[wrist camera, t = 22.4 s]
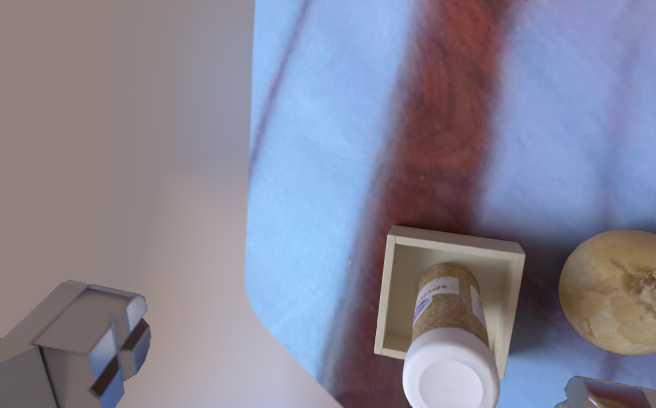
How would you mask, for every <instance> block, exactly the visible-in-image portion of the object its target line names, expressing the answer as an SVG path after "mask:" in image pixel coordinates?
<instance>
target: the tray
mask: <svg viewBox="0 0 656 408" xmlns="http://www.w3.org/2000/svg"><path fill="white" fill-rule="evenodd" d="M525 257H526V254H525V253H524V251H523V249H522V248H521V246H520V245H519V243H518V242H512V241H504V240H497V239H490V238H483V237H476V236H469V235H462V234H454V233H447V232H440V231H433V230H426V229H419V228H412V227H404V226H397V225H393V226H392V228H391V230H390V232H389V233H388V236H387V245H386V254H385V262H384V271H383V280H382V288H381V297H380V306H379V315H378V323H377V332H376V341H375V349H374V353H375V354H380V355H385V356H390V357H395V358H399V359H404V360H405V359H406V355H407V352H408V350H409V348H410V346H411V342H412V335H413V321H414V315H415V308H416V302H417V298H418V284H419V281H420V278H421V277H422V275H423V273H424V272H426V271H427V270H428V269H429V268H430V267H432V266H434V265H436V264H440V263H450V262H451V263H457V264H460V265H462V266H464V267H465V268H467V269H468V270H469V271H471V272H472V274H473V275H474V276H475V278H476V279H477V281H478V284H479V288H480V298H481V301H482V306H483V311H484V316H485V321H486V326H487V331H488V337H489V349H490V351H491V353H492V354H493V356H494V359H495V361H496V365H497V370H498V375H499V379H502V380H504V375H505V370H506V364H507V358H508V353H509V347H510V341H511V336H512V330H513V324H514V319H515V313H516V308H517V302H518V296H519V291H520V285H521V279H522V274H523V268H524V262H525Z"/></svg>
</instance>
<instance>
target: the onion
mask: <svg viewBox="0 0 656 408" xmlns="http://www.w3.org/2000/svg"><path fill="white" fill-rule="evenodd" d="M559 298H560V304H561V307H562V309H563V311H564V314H565V316H566V318H567V319H568V320H569V322H570V324H571V325H572V326H573V327H574V329H575V330H576V331H577V332H578V333H579V334H580V335H581V336H582V337H584V338H585V339H586V340H588V341H589V342H591V343H592V344H594V345H596V346H597V347H599V348H602V349H604V350H607V351H610V352H614V353H618V354H624V355H645V354H651V353H656V234H653V233H650V232H646V231H641V230H635V229H616V230H609V231H605V232H602V233H599V234H597V235H594V236H593V237H590V238H588V239H587V240H585V241H584V242H582V243H581V244H579V245H578V246H577V248H576V249H574V251H573V252H572V253H571V254H570V256H569V257H568V259H567V260H566V262H565V264H564V267H563V270H562V272H561V276H560V281H559Z"/></svg>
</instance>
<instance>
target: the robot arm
mask: <svg viewBox="0 0 656 408" xmlns="http://www.w3.org/2000/svg"><path fill="white" fill-rule="evenodd" d="M146 311H147V304H146V300H145V297H144V296H142V295H140V294H136V293H131V292H126V291H122V290H117V289H112V288H108V287H103V286H98V285H94V284H93V285H92V284H87V283H82V282H77V281H73V280H68V281H66V282H63V283H61V284H60V285H59V286H58V287H57V288H56V289H55V290H53V291H52V292H51V293H50V294H49V295H48V296H47V297H46V298H45V299H44V300H43V301H42V302H41V303H40V304H39V305H38V306H37V307H36V308H34V309H33V310H32V311H31V312H30V313H29V314H28V315H27V316H26V317H25V318H24V319H23V320H22V321H21V322H20V323H19V324H18V325H17V326H16V327H15V328H13V329H12V330H11V331H10V332H9V333H8V334H7V335H6V336H5V337H4V338H3V339H1V338H0V408H115V407H116V405H117V404H118V402H119V401H120V399H121V398H122V396H123V394H124V386H123V382H124V381H125V380H127V379H129V378H130V377H132V376H134V375H136V374H137V373H138V371H139V370H140V368H141V366H142V365H143V363H144V361H145V359H146V355H147V353H148V350H149V347H150V339H151V333H150V326H149V325H148V324H147V323H146V322H145V321H144V319H143V318H142V317H143V315H144V314H145V312H146ZM564 390H565V393H566V396H567V400H565V401H563V402H561V403H559V404H557V405H556V406H555V408H656V390H654V389H648V388H643V387H637V386H631V385H626V384H620V383H615V382H609V381H603V380H598V379H592V378H586V377H581V376H574V377H573V378H571V379H570V380H569V382H568V383H567V385H566V387H565V389H564Z"/></svg>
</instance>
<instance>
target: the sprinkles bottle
mask: <svg viewBox="0 0 656 408" xmlns="http://www.w3.org/2000/svg"><path fill="white" fill-rule="evenodd" d="M403 387H404V392H405V395H406V397H407V399H408V401H409V403H410V404H411V406H412V407H413V408H495V407H496V404H497V402H498V399H499V393H500V383H499V375H498V370H497V365H496V361H495V359H494V356H493V354H492V353H491V351H490V349H489V337H488V331H487V326H486V321H485V316H484V311H483V306H482V301H481V298H480V288H479V284H478V281H477V279H476V278H475V276H474V275H473V274H472V272H471V271H469V270H468V269H467V268H465V267H464V266H462V265H460V264H457V263H451V262H450V263H440V264H436V265H434V266H432V267H430V268H429V269H428V270H427V271H426V272H424V273H423V275H422V277H421V278H420V281H419V284H418V298H417V302H416V308H415V315H414V321H413V335H412V342H411V346H410V348H409V350H408V352H407V355H406V359H405V364H404V370H403Z"/></svg>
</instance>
